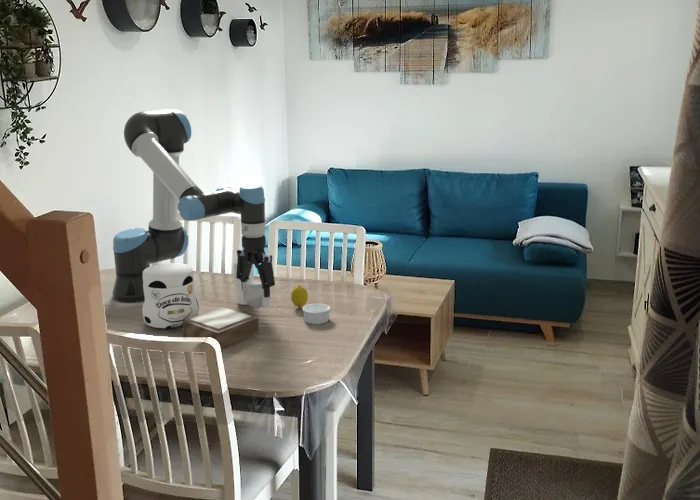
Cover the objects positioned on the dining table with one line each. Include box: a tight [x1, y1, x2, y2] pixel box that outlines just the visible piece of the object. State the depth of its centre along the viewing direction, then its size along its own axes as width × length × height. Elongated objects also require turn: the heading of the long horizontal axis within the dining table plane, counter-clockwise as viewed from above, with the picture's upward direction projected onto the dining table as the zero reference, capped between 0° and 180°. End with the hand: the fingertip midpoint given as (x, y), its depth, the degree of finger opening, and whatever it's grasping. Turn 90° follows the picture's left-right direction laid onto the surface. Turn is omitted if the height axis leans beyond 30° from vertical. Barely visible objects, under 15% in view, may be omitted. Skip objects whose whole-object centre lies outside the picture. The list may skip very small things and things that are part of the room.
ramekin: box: [302, 303, 331, 325], centre depth 231 cm, size 9×9×4 cm
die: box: [242, 280, 271, 310], centre depth 231 cm, size 8×9×10 cm
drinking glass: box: [233, 258, 255, 306], centre depth 246 cm, size 7×7×15 cm
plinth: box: [182, 305, 260, 350], centre depth 218 cm, size 16×16×6 cm
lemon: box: [290, 284, 309, 309], centre depth 242 cm, size 6×6×8 cm
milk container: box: [141, 262, 200, 331], centre depth 227 cm, size 17×17×18 cm
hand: (256, 303), depth 232 cm, fingers closed on die, 8 cm apart
